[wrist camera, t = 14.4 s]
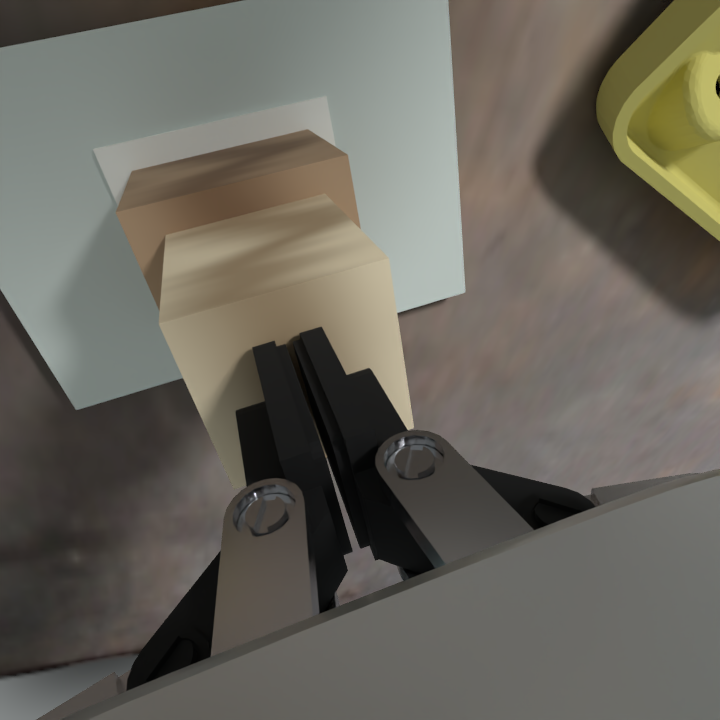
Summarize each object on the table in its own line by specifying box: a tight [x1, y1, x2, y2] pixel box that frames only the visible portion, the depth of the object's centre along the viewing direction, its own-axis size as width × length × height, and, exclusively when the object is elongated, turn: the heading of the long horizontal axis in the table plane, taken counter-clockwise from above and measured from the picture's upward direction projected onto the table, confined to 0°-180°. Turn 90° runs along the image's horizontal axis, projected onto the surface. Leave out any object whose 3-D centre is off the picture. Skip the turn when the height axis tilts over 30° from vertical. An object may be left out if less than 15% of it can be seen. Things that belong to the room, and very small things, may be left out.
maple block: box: [159, 194, 414, 489], centre depth 15 cm, size 5×5×6 cm
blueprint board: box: [0, 0, 465, 410], centre depth 22 cm, size 20×14×1 cm
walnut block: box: [116, 129, 361, 311], centre depth 19 cm, size 7×7×6 cm
